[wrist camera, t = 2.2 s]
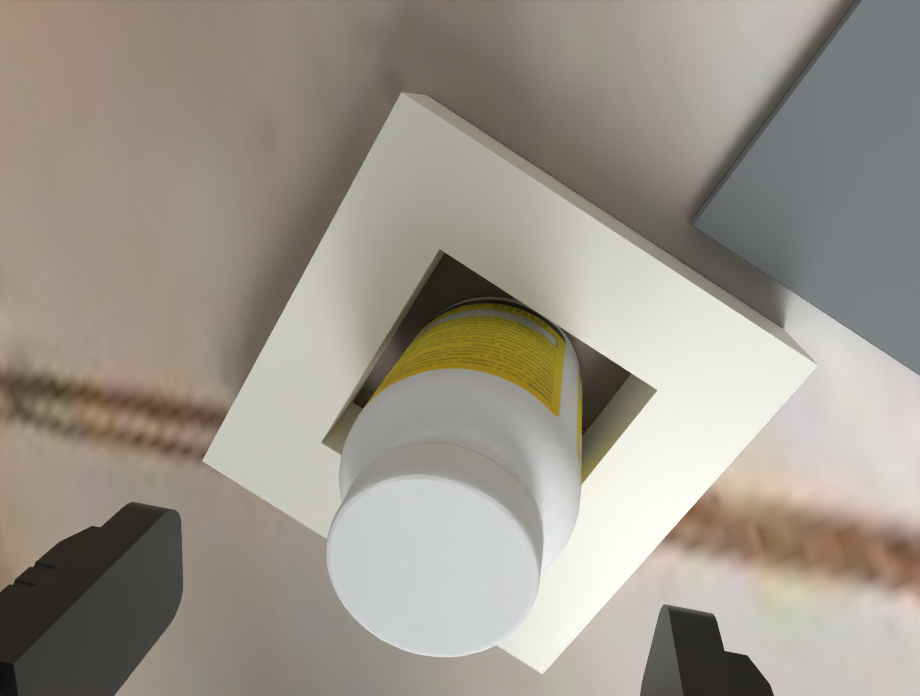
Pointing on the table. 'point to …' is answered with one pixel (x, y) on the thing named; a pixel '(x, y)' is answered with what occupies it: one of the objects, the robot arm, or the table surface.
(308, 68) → the table surface
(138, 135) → the table surface
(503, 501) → the supplement bottle
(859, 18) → the rubber pad
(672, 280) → the frame
